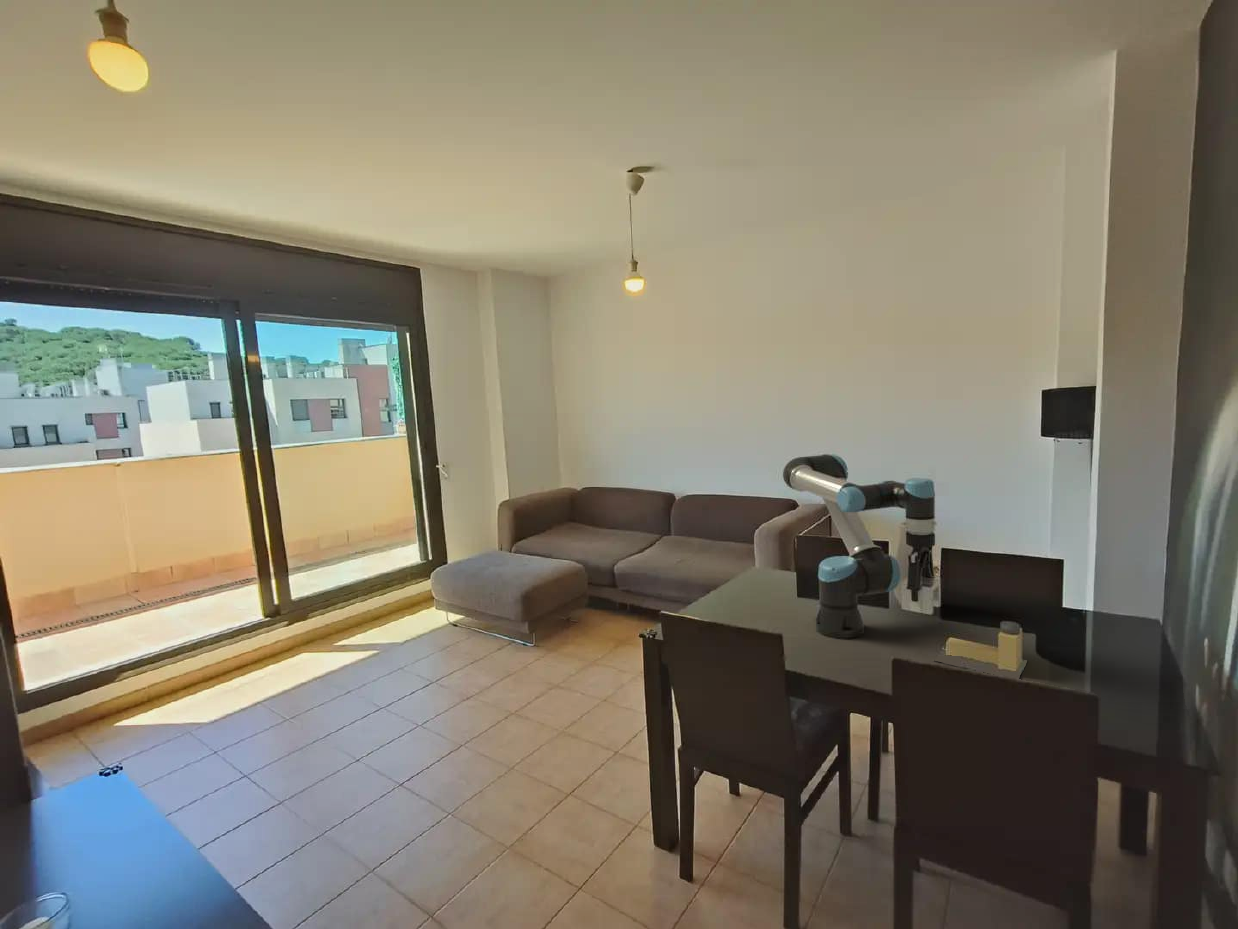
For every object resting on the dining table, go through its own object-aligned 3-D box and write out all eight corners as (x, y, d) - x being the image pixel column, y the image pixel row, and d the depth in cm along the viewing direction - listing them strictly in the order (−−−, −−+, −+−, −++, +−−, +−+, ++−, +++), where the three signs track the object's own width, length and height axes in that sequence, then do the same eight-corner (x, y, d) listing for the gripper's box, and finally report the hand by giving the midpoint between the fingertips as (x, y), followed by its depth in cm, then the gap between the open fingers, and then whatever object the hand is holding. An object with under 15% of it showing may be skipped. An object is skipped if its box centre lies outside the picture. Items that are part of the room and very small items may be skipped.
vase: (943, 607, 200) (942, 523, 197) (922, 618, 192) (921, 530, 189) (905, 597, 211) (903, 518, 208) (883, 607, 204) (882, 524, 201)
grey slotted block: (901, 609, 169) (901, 582, 168) (911, 600, 175) (911, 574, 174) (931, 614, 163) (931, 587, 162) (940, 605, 170) (940, 579, 169)
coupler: (944, 658, 163) (943, 617, 162) (952, 648, 169) (951, 608, 167) (1016, 675, 151) (1017, 631, 150) (1022, 663, 157) (1022, 621, 156)
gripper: (922, 541, 157) (923, 621, 159) (945, 525, 172) (946, 598, 174) (893, 538, 162) (894, 615, 164) (918, 523, 177) (919, 593, 180)
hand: (921, 606), depth 169 cm, fingers closed on grey slotted block, 9 cm apart
